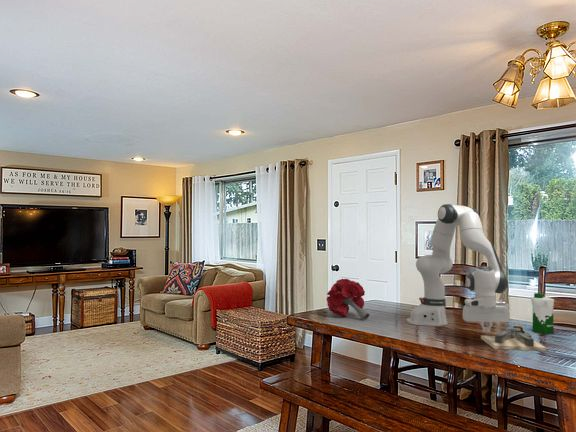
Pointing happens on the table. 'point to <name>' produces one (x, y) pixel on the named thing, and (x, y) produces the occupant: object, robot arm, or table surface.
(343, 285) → the bouquet
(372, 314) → the table surface
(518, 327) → the burger
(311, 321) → the table surface
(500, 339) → the tongs arm
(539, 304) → the milk carton
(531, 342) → the tongs fixed
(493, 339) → the board
